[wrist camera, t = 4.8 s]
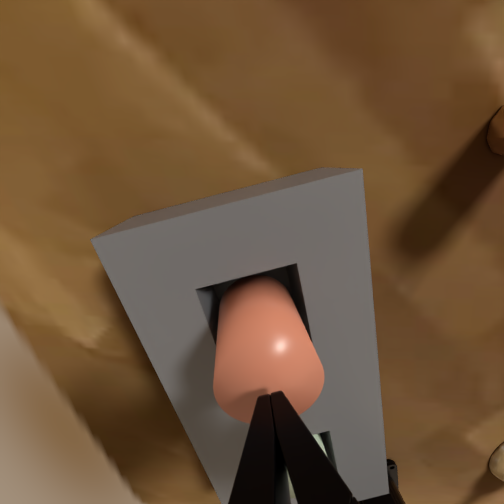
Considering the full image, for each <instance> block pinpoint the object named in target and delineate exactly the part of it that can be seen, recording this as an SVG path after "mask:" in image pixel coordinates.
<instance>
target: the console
mask: <svg viewBox="0 0 504 504" xmlns="http://www.w3.org/2000/svg"><path fill="white" fill-rule="evenodd" d="M90 240H91V242H92V244H93V246H94V248H95V250H96V252H97V254H98V256H99V258H100V260H101V262H102V264H103V266H104V268H105V270H106V272H107V274H108V276H109V278H110V280H111V282H112V284H113V287H114V289H115V291H116V293H117V295H118V297H119V299H120V301H121V303H122V305H123V307H124V309H125V311H126V313H127V315H128V317H129V319H130V321H131V323H132V325H133V327H134V329H135V331H136V333H137V335H138V337H139V339H140V341H141V343H142V345H143V347H144V349H145V351H146V353H147V355H148V357H149V359H150V361H151V363H152V365H153V367H154V369H155V371H156V373H157V375H158V377H159V379H160V381H161V383H162V385H163V387H164V389H165V391H166V393H167V395H168V397H169V399H170V401H171V403H172V405H173V407H174V409H175V411H176V413H177V415H178V417H179V419H180V421H181V423H182V425H183V427H184V429H185V431H186V433H187V435H188V437H189V439H190V441H191V443H192V445H193V447H194V449H195V451H196V453H197V455H198V457H199V459H200V461H201V463H202V465H203V467H204V469H205V471H206V473H207V475H208V477H209V479H210V481H211V483H212V485H213V487H214V489H215V491H216V493H217V495H218V497H219V499H220V501H221V503H222V504H228V502H229V498H230V494H231V491H232V487H233V484H234V480H235V476H236V473H237V469H238V466H239V462H240V458H241V455H242V451H243V447H244V444H245V440H246V437H247V433H248V429H249V426H250V424H249V423H245V422H241V421H239V420H237V419H234V418H233V417H231V416H229V415H228V414H227V413H225V412H224V411H223V410H222V409H221V407H220V406H219V405H218V403H217V401H216V399H215V396H214V391H213V380H214V368H215V356H216V343H217V331H218V318H219V306H220V301H221V298H222V296H223V294H224V292H225V291H226V289H227V288H228V287H229V286H230V285H231V284H233V283H234V282H236V281H237V280H239V279H241V278H244V277H247V276H252V275H263V276H268V277H272V278H274V279H276V280H278V281H279V282H281V283H282V284H283V285H284V286H285V287H286V288H287V290H288V291H289V293H290V296H291V298H292V300H293V302H294V304H295V307H296V309H297V311H298V313H299V315H300V318H301V320H302V322H303V324H304V326H305V329H306V331H307V333H308V335H309V337H310V340H311V342H312V344H313V346H314V348H315V350H316V353H317V355H318V357H319V359H320V361H321V364H322V366H323V370H324V385H323V388H322V391H321V393H320V395H319V397H318V398H317V400H316V401H315V402H314V403H313V405H312V406H311V407H310V408H308V409H307V410H306V411H305V412H303V413H302V414H300V415H299V416H300V418H301V419H302V420H303V422H304V423H305V425H306V426H307V428H308V429H309V431H310V432H311V434H312V435H314V434H318V433H320V436H321V439H322V442H323V445H324V448H325V451H326V454H327V457H328V459H329V460H330V461H331V463H332V464H333V466H334V467H335V469H336V470H337V472H338V473H339V475H340V476H341V478H342V479H343V481H344V482H345V483H346V485H347V486H348V488H349V489H350V491H351V492H352V494H353V497H355V498H356V499H357V501H361V500H365V499H369V498H373V497H377V496H381V495H385V494H389V486H388V474H387V462H386V449H385V437H384V425H383V413H382V401H381V389H380V376H379V364H378V352H377V340H376V328H375V316H374V303H373V291H372V279H371V267H370V255H369V243H368V230H367V218H366V206H365V194H364V182H363V170H362V169H354V168H318V169H314V170H310V171H306V172H303V173H299V174H295V175H291V176H287V177H283V178H280V179H276V180H272V181H268V182H264V183H260V184H256V185H253V186H249V187H245V188H241V189H237V190H233V191H230V192H226V193H222V194H218V195H214V196H210V197H207V198H203V199H199V200H195V201H191V202H187V203H183V204H180V205H176V206H172V207H168V208H164V209H160V210H157V211H153V212H149V213H145V214H141V215H137V216H134V217H132V218H130V219H128V220H126V221H124V222H122V223H120V224H118V225H117V226H115V227H113V228H111V229H109V230H107V231H105V232H103V233H101V234H100V235H98V236H96V237H94V238H92V239H90ZM290 499H291V504H298V503H297V500H296V498H290Z"/></svg>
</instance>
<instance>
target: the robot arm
mask: <svg viewBox="0 0 504 504" xmlns="http://www.w3.org/2000/svg"><path fill="white" fill-rule="evenodd" d="M386 462H387V474H388V486H389V494H385V495H381V496H377V497H373V498H369V499H365V500H361V501H357V499H356V498H355V497H353V494H352V492H351V491H350V489H349V488H348V486H347V485H346V483H345V482H344V481H343V479H342V478H341V476H340V475H339V473H338V472H337V470H336V469H335V467H334V466H333V464H332V463H331V461H330V460H329V459H328V457H327V456H326V454H325V453H324V451H323V450H322V448H321V447H320V445H319V444H318V442H317V441H316V440H315V438H314V437H313V435H312V434H311V432H310V431H309V429H308V428H307V426H306V425H305V423H304V422H303V420H302V419H301V418H300V416H299V415H298V413H297V412H296V410H295V409H294V407H293V406H292V404H291V403H290V401H289V400H288V398H287V397H286V396H285V394H284V393H283V391H281V390H279V391H276V392H272V393H271V394H264V395H260V396H258V398H257V401H256V404H255V408H254V411H253V415H252V419H251V422H250V426H249V429H248V433H247V437H246V440H245V444H244V447H243V451H242V455H241V458H240V462H239V466H238V469H237V473H236V476H235V480H234V484H233V487H232V491H231V494H230V498H229V502H228V504H291V499H290V490H289V481H288V474H289V477H290V480H291V484H292V487H293V490H294V493H295V497H296V500H297V503H298V504H405V502H404V500H403V498H402V496H401V494H400V492H399V490H398V475H397V465H396V464H395V462H394V461H393V460H389V461H386ZM287 471H288V473H287Z"/></svg>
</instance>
